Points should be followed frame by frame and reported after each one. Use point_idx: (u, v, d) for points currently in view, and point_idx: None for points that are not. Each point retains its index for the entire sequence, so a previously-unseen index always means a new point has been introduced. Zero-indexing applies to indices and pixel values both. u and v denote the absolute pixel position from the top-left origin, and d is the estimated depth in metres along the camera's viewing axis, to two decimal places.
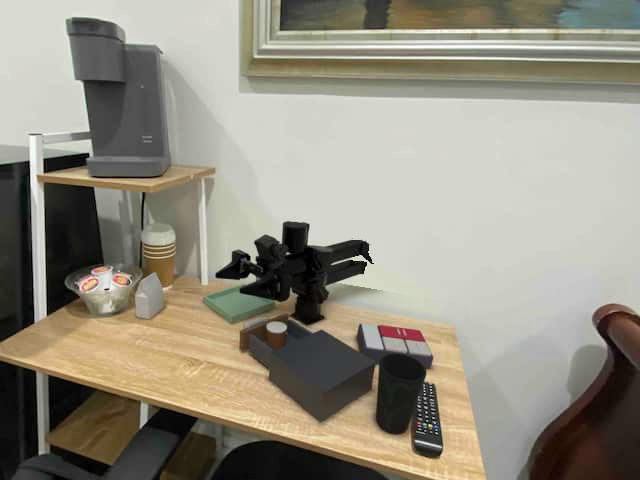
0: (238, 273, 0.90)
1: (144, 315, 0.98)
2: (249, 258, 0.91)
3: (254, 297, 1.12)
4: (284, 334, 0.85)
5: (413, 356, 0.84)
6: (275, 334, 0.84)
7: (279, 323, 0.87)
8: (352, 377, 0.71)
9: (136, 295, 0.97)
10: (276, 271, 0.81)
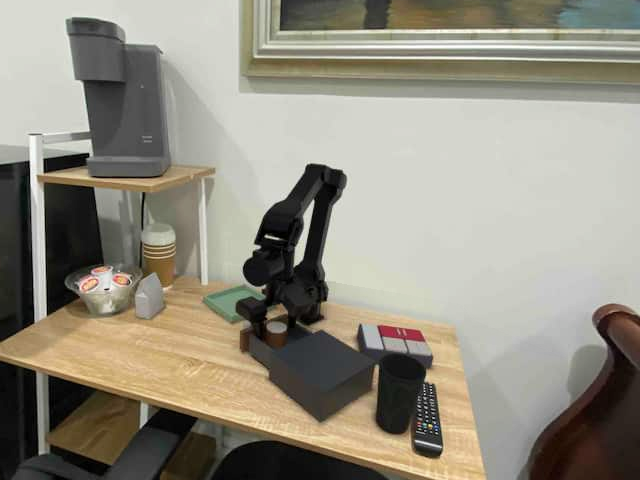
0: None
1: (144, 315, 0.98)
2: None
3: None
4: (284, 334, 0.85)
5: (413, 356, 0.84)
6: (275, 334, 0.84)
7: (279, 323, 0.87)
8: (352, 377, 0.71)
9: (136, 295, 0.97)
10: None
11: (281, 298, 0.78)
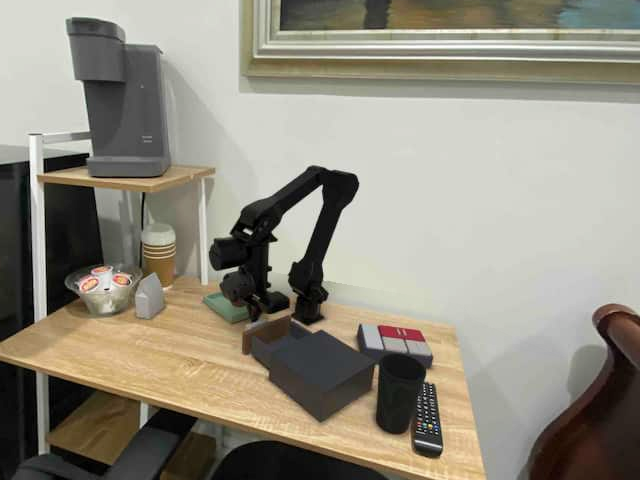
0: None
1: (144, 315, 0.98)
2: None
3: None
4: None
5: (413, 356, 0.84)
6: None
7: None
8: (352, 377, 0.71)
9: (136, 295, 0.97)
10: (261, 307, 0.83)
11: None
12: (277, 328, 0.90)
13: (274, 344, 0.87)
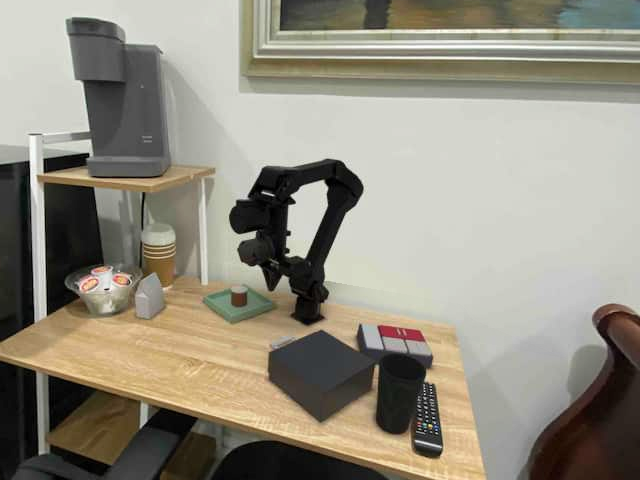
0: None
1: (144, 315, 0.98)
2: None
3: (254, 297, 1.12)
4: (245, 294, 1.05)
5: (413, 356, 0.84)
6: (238, 294, 1.04)
7: (242, 286, 1.07)
8: (352, 377, 0.71)
9: (136, 295, 0.97)
10: (280, 271, 0.81)
11: None
12: None
13: None
